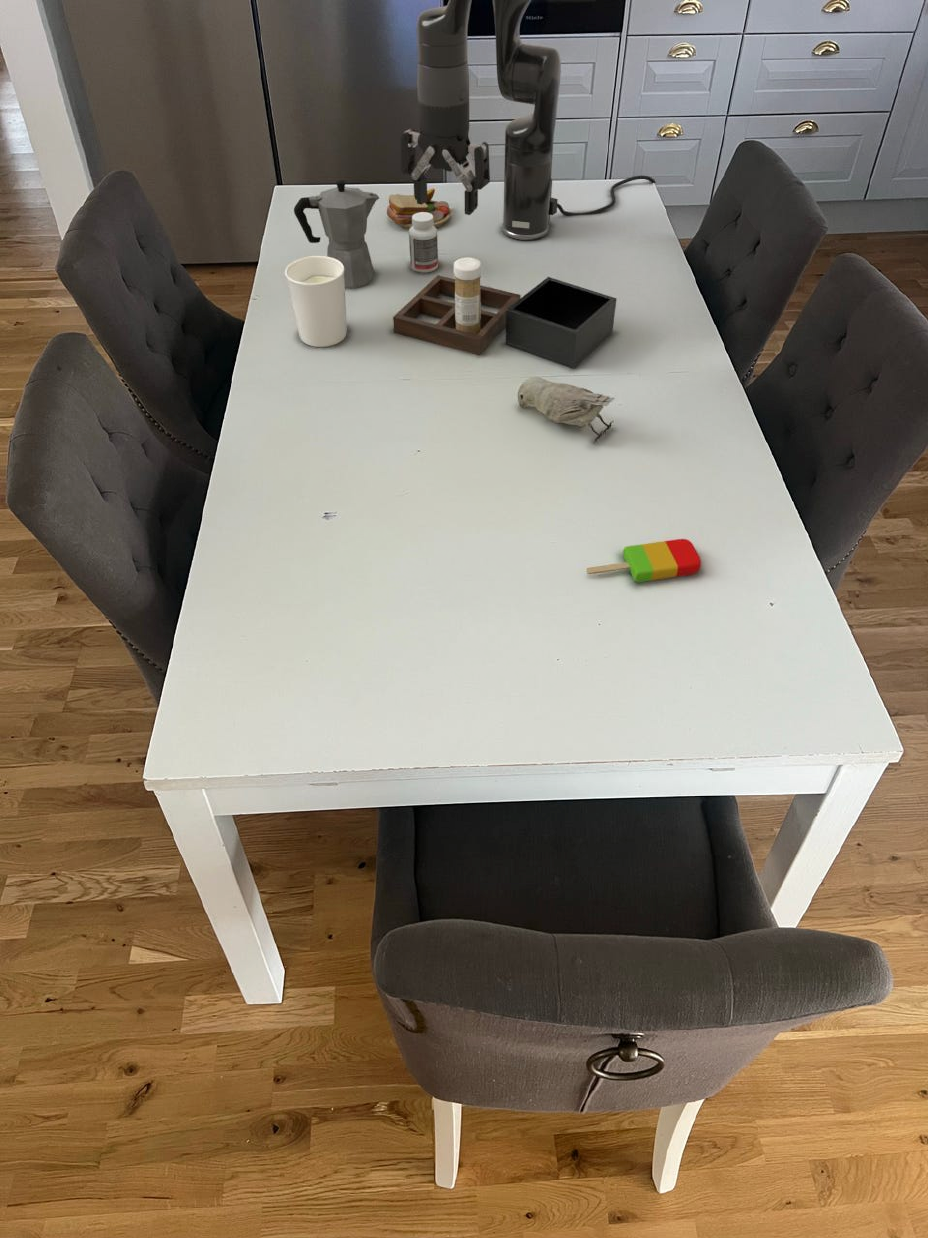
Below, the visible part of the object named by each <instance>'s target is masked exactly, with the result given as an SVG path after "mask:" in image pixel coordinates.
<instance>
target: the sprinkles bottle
mask: <svg viewBox="0 0 928 1238" xmlns="http://www.w3.org/2000/svg"><path fill="white" fill-rule="evenodd" d="M453 276H454V279H455V297H454V303H455V320H456V328H455V329H456V330H460V331H464V332H468V333H471V334H475V335H477V334H478V333H479V332H480V331H481V329H480V319H481V310H482V304H481V302H480V285H481V277H482V262H481V261H480V260H479V259H477V258H474V257H461V258H459V259H457V260H456V261H454V263H453Z"/></svg>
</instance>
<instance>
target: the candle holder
mask: <svg viewBox="0 0 928 1238" xmlns="http://www.w3.org/2000/svg"><path fill="white" fill-rule="evenodd" d="M284 275H285V278H286V283H287V287H288V293H289V296H290V302H291V305H292V310H293V313H294V314H293V315H294V319H295V324H296V328H297V331H298V332H297V333H298V335H299V338H300V340H301V341H302V343H304V344H306V345H308V346H311V347H314V348H315V347H316V348H326V347H331V346H334V345H337V344H339V343H340V342H342V341H344V339H345V338H346V336H347V335H348V334H347V331H348V326H347V307H346V306H347V303H346V302H347V301H346V288H345V280H344V266H343V264H342V263H341V262H340V261H338V260H337V259H334V258H331V257H327V255H309V256H305V257H301V258H298V259H296V260H294V261H292V262H291V263H289V264H287V266H286V268H285V270H284Z"/></svg>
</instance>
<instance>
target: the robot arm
mask: <svg viewBox="0 0 928 1238" xmlns="http://www.w3.org/2000/svg"><path fill="white" fill-rule="evenodd" d="M472 2H473V0H448V2H447V5H444V6H439V7H433V8H429V9H425V10H424V11H421V13H420V14H419V15H418V17H417V20H416V44H417V46H416V48H417V73H416V93H417V94H416V95H417V118H418V129H419V132H417V131H416V130H415V128H413V127H410V128H409V129H407V130H405V131H403V133H402V134H401V135H400V170H401V173H403V175H406V174H408V175H409V176H410V177H411V178H412V181H413V195H414V197H415V199H416V200H417V204H421V205H422V204H424V203H425V202H426V201H427V191H428V177H427V175H426V173H427V171H428V170H429V169H430V167H432V169H436V170H444V171H446V172H450V173H451V172H453V174H454V176H455V177H456V179H458V180H460V183H462V185H463V187H464V189H465V190H464V215H468V216H471V215H472V214H473V213H474V212H475V211H476V210H478V209H477V208H478V206H479V191H480V190H483V189H484V188H485V187H486V186H487V185H489V183H490V182H491V172H490V170H491V169H490V146H489V144H488V142H486V141H483V142H482V143H480V144H478V143H471V140H470V137H469V132H470V73H469V64H468V29H469V20H470V13H471V9H472V8H471V7H472ZM531 2H532V0H492V9H493V19H494V33H495V34H494V35H495V54H496V55H495V59H496V61H495V62H496V78H497V86H498V90H499V92H500V94H501V96H502V97H503V99H504V100H507V101H510V102H515V103H520V104H526V105H527V104H528V105H532V106H533V105H534V109H533V113H530V114H529V115H525V116H521V117H517V118H515V119H513V120H511V121H510V122H509V123H508V124H506V127H505V131H504V132H505V133H504V170H503V171H504V172H503V173H504V175H503V208H502V209H503V210H502V211H503V212H502V229H501V230H502V233H503V234H504V235H505V236H507V237H509V238H511V239H515V240H519V241H532V240H538V239H542V238H543V237H545V236H547V234H548V233H549V228H550V223H551V216H554V215H556V214H557V213H558V210H559V212H560V213H561V214H562V215H564V216H567V217H571V216H572V217H574V216H589V215H596V214H600V213H602V212H605V211H608V210H609V209H610V208H612V207H613V206H614V205H615V203H616V196H615V195H616V194H615V189H616V188H617V187H620V186H623V185H624V184H627V183H629V182H632V181H637V180H646V181H649V182H650V183H652V184H656V183H657V182H656V180H655V179H654V178H652V177H651V176H649V175H634V176H631V177H627V178H625V179H622V180H620V181H618V182H615V183H614V184H613V185H612V186H611V188H610V197H611V202H610V203H609V204H607V205H605V206H603V207H600V208H597V209H594V210H590V211H586V212H585V211H584V212H570V211H566V210H565V209H564V208H563V207H562V205H561V204H560V203H559V202H558V200H559V199H558V198H556V197H552V193H553V192H552V190H553V179H552V171H553V170H552V168H553V152H554V137H555V129H556V124H557V122H556V121H557V113H558V102H559V95H560V94H559V92H560V84H561V77H562V76H561V75H562V62H561V60H562V59H561V55H560V52H559V50H557V49H556V48H555V47H550V46H543V45H536V44H529V43H524V42H522V40H521V35H520V33H521V32H520V29H521V28H520V27H521V22H522V19H523V17H524V14H525V13H526V10H527V8H528V7H529V5H530V3H531ZM418 146H419V148H420V150H421V151H422V153H423V155H422V156H421V158H420V160H419V161H418V162H417V164H416V158H417V157H416V147H418ZM469 154H470V155H471V159H470V158H469V156H468V155H469ZM471 160H472V161H474V165H473V163H472V161H471ZM461 165H462V167H461Z"/></svg>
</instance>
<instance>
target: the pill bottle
mask: <svg viewBox="0 0 928 1238" xmlns="http://www.w3.org/2000/svg"><path fill="white" fill-rule="evenodd" d="M433 223H434V221H433V215H432V214H430V213H427V212H420V213H416V214H414V215H413V216H412V225H413V226H412V227H411V228H410V229H409V230H408V243H409V247H408V248H409V260H410V261H409V262H410V268H411V269H412V270H413V271H414V272H418V273H426V274H427V273H432V272H434V271H435V270H436V269H437V268H438V267H439V247H438V246H439V245H438V244H439V243H438V230H437V227H436V228H435V227H434V226H433Z"/></svg>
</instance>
